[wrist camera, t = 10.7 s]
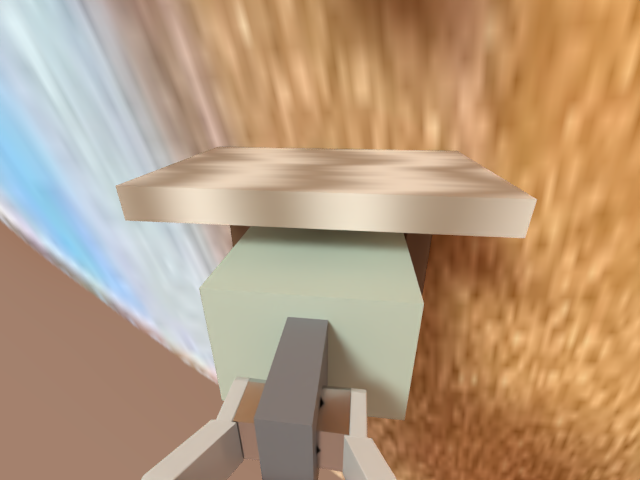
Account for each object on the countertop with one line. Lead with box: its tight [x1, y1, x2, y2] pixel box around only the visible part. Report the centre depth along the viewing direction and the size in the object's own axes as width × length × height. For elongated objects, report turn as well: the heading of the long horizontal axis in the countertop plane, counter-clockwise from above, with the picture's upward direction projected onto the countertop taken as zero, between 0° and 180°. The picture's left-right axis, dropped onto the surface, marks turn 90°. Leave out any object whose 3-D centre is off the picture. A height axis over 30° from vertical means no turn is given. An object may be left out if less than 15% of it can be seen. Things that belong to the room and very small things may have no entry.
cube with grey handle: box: [199, 226, 424, 480], centre depth 14 cm, size 8×6×12 cm
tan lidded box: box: [116, 147, 537, 295], centre depth 19 cm, size 16×11×10 cm
